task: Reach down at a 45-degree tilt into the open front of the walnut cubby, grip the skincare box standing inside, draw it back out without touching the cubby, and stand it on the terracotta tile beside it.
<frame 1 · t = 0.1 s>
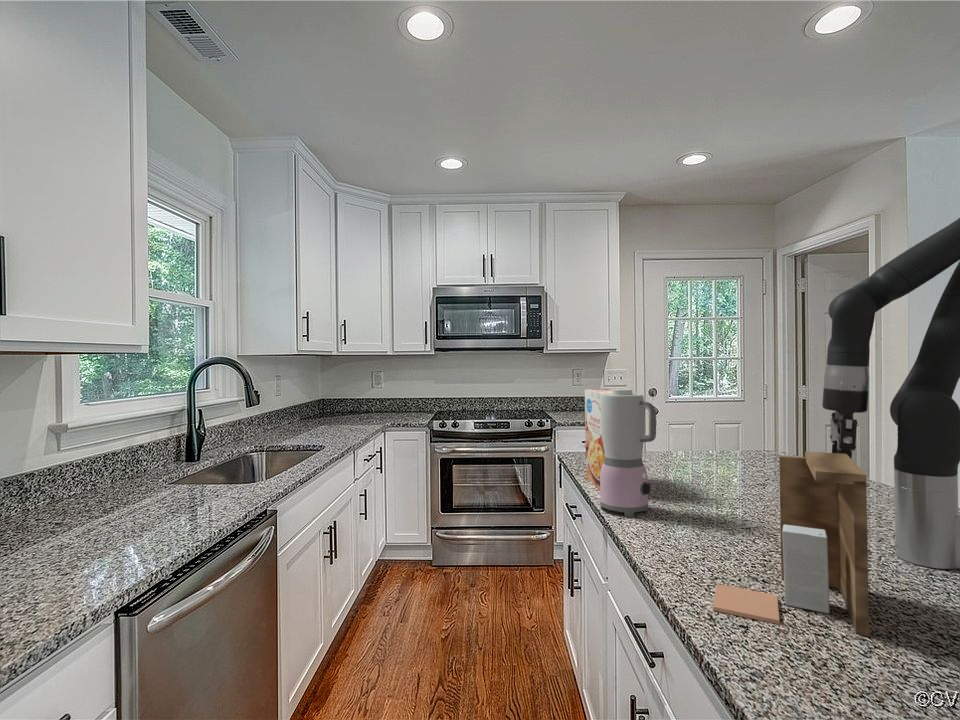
hand: (840, 465, 102), 17 cm above the countertop, tool pointing down, fingers open, 8 cm apart
pasta box: (607, 486, 156), on the countertop
blender: (629, 512, 130), on the countertop
walnut cubby: (816, 603, 80), on the countertop
terracotta tile: (745, 604, 80), on the countertop
skincare box: (806, 605, 80), on the countertop
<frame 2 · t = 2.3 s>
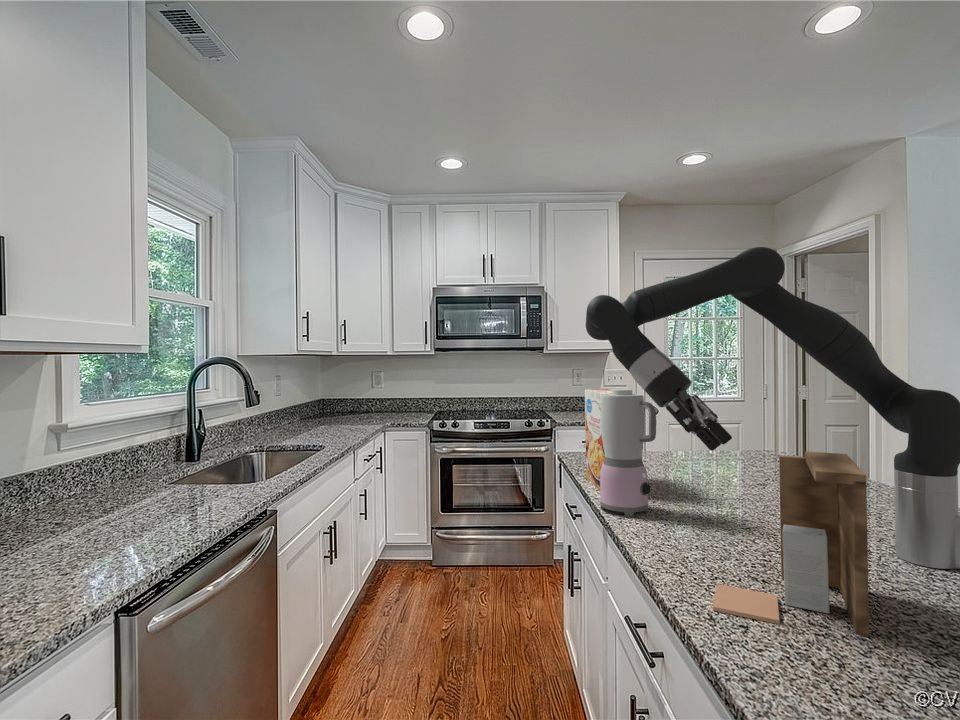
hand: (722, 444, 87), 25 cm above the countertop, tool tilted 45°, fingers open, 8 cm apart
nothing on the countertop moved.
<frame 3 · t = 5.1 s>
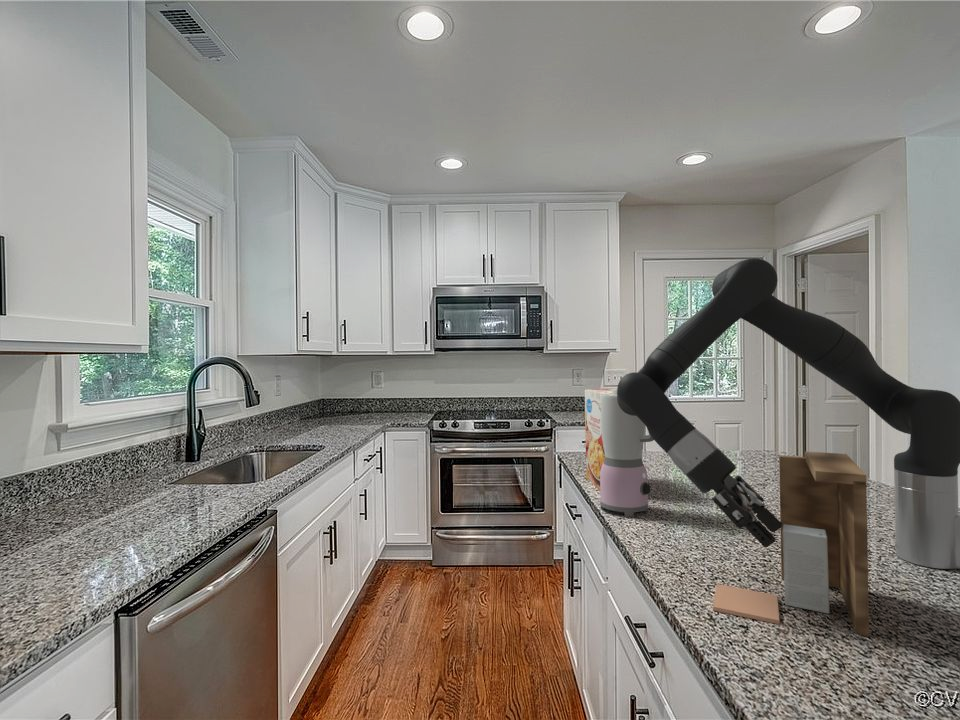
hand: (774, 536, 82), 10 cm above the countertop, tool tilted 45°, fingers open, 8 cm apart
nothing on the countertop moved.
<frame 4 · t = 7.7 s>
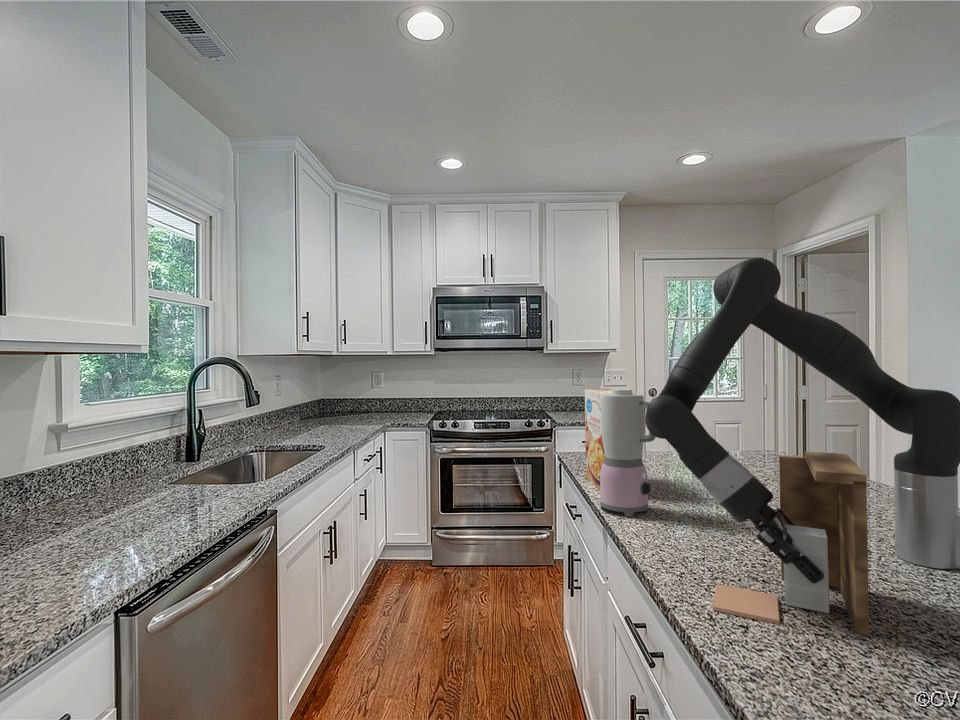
hand: (819, 573, 78), 5 cm above the countertop, tool tilted 45°, fingers closed on skincare box, 4 cm apart
skincare box: (806, 605, 80), on the countertop, touching gripper
everything else where it was.
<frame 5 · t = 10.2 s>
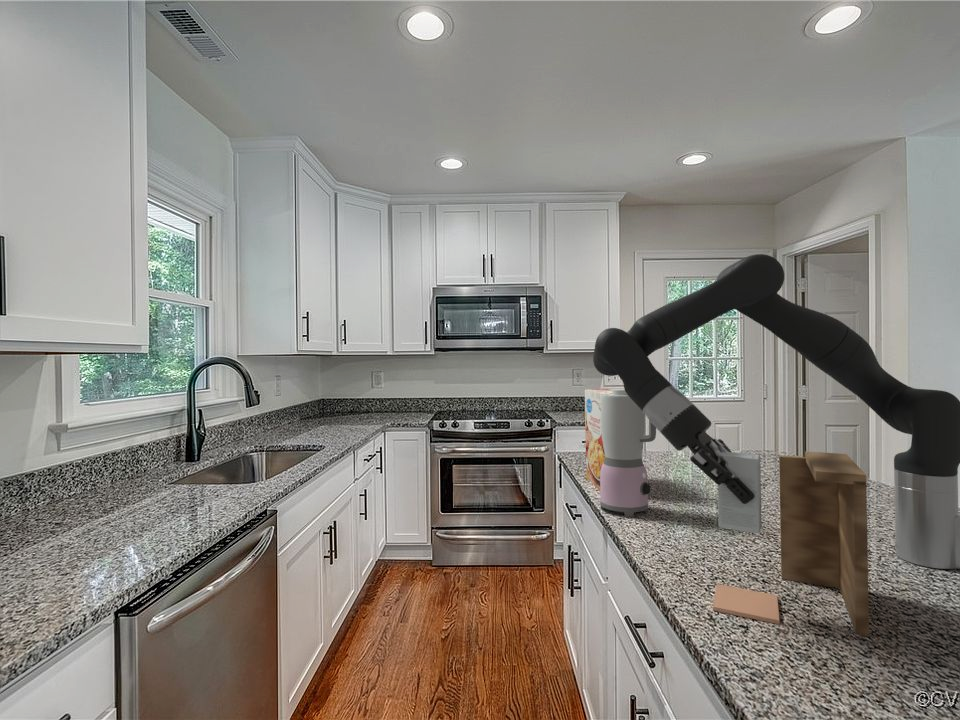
hand: (752, 496, 80), 17 cm above the countertop, tool tilted 45°, fingers closed on skincare box, 4 cm apart
skincare box: (739, 528, 81), point 12 cm above the countertop, touching gripper
everything else where it was.
when the fingers open (7 cm above the countertop, at t = 12.9 s): skincare box drops 1 cm, resting on terracotta tile.
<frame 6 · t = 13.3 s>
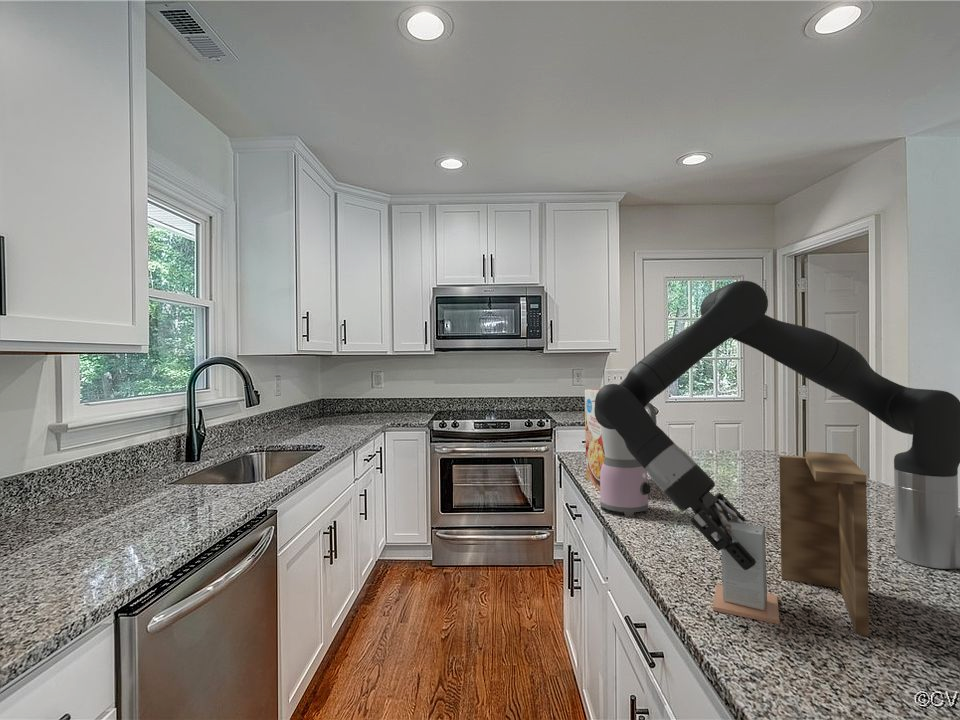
hand: (755, 558, 79), 8 cm above the countertop, tool tilted 45°, fingers open, 7 cm apart
skincare box: (744, 602, 80), resting on terracotta tile
everything else where it was.
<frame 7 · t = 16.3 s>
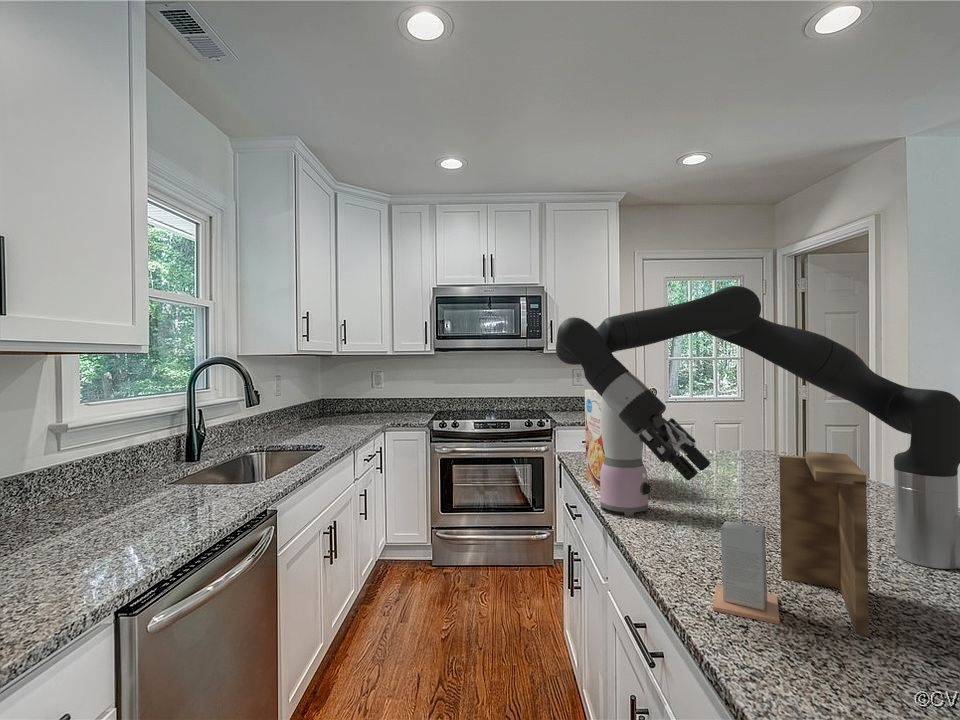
hand: (700, 472, 84), 21 cm above the countertop, tool tilted 45°, fingers open, 8 cm apart
nothing on the countertop moved.
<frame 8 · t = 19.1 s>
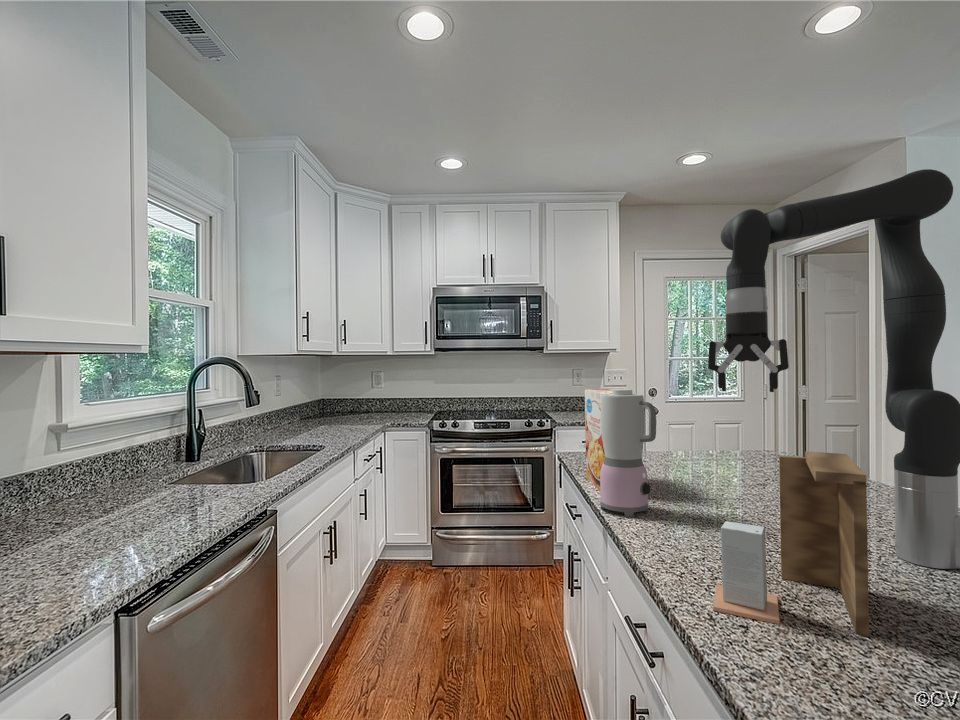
hand: (747, 391, 100), 33 cm above the countertop, tool pointing down, fingers open, 8 cm apart
nothing on the countertop moved.
at the end: skincare box inside the target area on the terracotta tile (0.3 cm from its centre), point 0.4 cm above the terracotta tile's base; skincare box tilted 0°; the gripper is holding nothing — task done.
